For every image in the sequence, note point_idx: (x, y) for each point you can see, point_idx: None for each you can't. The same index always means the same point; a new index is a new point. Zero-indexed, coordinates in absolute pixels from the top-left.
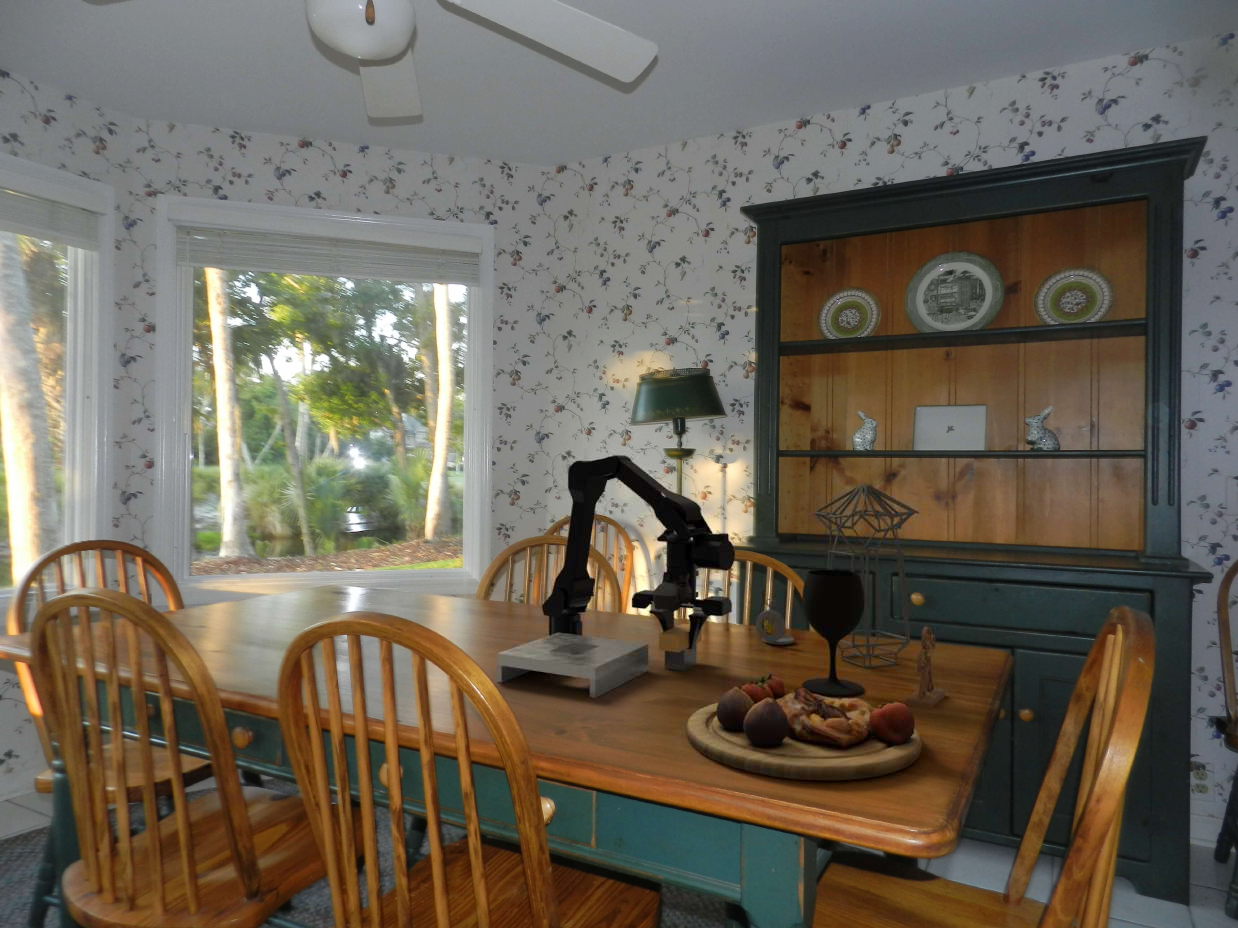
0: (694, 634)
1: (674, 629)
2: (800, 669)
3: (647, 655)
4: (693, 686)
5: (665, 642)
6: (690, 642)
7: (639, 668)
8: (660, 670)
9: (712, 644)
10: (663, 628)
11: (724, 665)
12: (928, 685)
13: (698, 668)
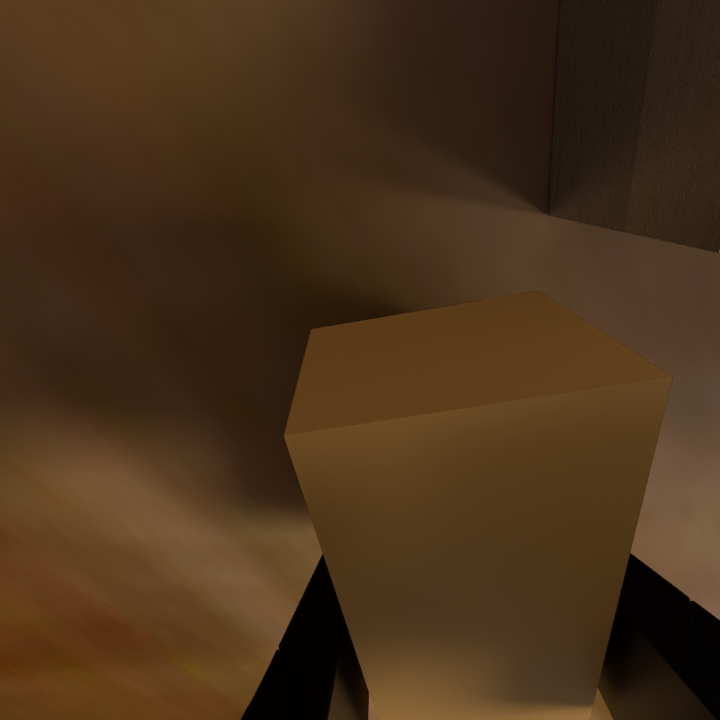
0: (285, 634)
1: (553, 649)
2: (6, 637)
3: (623, 209)
4: (7, 32)
5: (492, 336)
6: None
7: (590, 14)
8: (474, 274)
9: None
10: (696, 617)
11: (254, 541)
12: None
13: None
